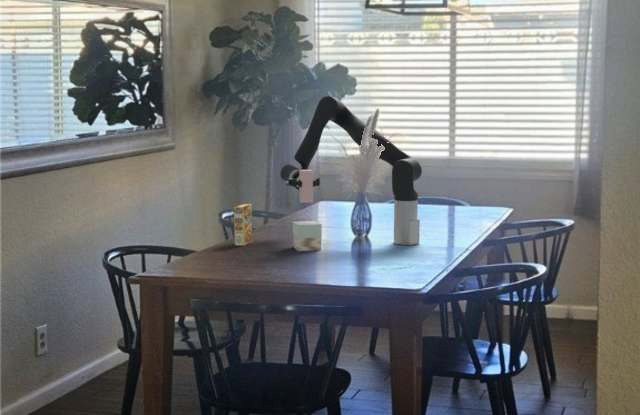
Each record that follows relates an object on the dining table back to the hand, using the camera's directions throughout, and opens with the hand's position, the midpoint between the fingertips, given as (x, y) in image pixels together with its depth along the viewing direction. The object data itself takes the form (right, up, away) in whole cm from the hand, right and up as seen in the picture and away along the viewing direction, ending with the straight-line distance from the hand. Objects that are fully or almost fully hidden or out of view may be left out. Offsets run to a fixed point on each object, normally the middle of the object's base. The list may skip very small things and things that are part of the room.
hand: (307, 184), depth 358 cm
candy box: (-25, -23, +15) cm, 38 cm away
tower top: (0, -20, +5) cm, 20 cm away
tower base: (0, -25, +5) cm, 25 cm away
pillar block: (-1, -7, +4) cm, 8 cm away
